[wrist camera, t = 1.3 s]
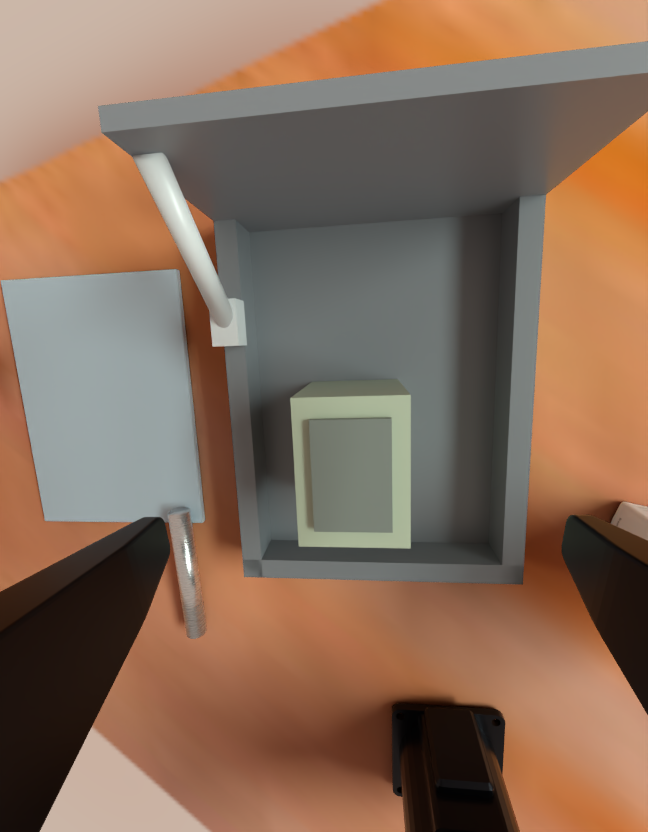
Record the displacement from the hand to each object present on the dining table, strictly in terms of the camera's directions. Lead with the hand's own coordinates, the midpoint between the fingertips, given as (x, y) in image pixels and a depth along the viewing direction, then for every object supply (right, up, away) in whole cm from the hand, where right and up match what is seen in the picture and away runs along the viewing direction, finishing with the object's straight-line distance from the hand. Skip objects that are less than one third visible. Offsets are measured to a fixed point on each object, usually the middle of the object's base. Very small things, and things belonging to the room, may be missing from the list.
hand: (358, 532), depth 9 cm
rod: (-9, -6, +15) cm, 18 cm away
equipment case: (+2, +4, +12) cm, 12 cm away
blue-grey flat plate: (-13, +3, +14) cm, 19 cm away
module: (+1, +2, +12) cm, 12 cm away
